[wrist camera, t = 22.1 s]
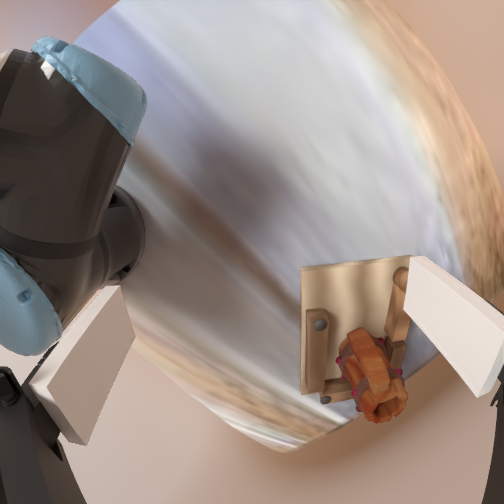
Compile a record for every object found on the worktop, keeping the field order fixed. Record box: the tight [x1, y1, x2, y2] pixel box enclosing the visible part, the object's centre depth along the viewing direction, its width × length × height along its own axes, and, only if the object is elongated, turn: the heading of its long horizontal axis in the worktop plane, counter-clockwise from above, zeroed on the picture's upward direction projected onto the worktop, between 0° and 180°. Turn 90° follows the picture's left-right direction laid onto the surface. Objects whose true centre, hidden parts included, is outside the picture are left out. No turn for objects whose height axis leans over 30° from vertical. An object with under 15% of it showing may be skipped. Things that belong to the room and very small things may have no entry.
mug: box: [335, 327, 408, 423], centre depth 37 cm, size 15×8×15 cm, turn 25°
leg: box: [384, 267, 411, 342], centre depth 40 cm, size 11×3×4 cm, turn 1°
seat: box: [300, 255, 413, 405], centre depth 43 cm, size 18×24×5 cm
